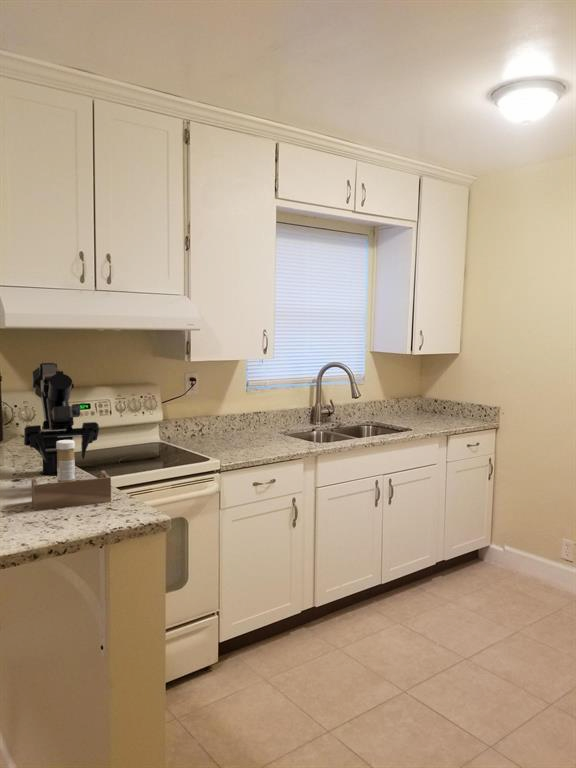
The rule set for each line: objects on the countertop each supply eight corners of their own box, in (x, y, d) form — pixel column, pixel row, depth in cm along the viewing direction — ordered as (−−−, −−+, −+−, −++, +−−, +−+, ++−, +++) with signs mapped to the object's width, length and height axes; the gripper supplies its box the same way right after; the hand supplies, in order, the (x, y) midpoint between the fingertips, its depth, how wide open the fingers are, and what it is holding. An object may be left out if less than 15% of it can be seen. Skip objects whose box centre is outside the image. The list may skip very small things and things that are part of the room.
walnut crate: (31, 501, 148) (31, 477, 147) (104, 493, 156) (104, 470, 155) (34, 510, 141) (34, 485, 140) (111, 501, 149) (110, 477, 148)
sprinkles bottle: (60, 488, 160) (59, 439, 159) (77, 488, 160) (76, 439, 159) (55, 493, 155) (53, 442, 154) (73, 493, 156) (72, 442, 155)
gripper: (23, 395, 155) (27, 445, 147) (97, 393, 164) (105, 439, 155) (22, 421, 163) (26, 469, 154) (92, 417, 172) (100, 462, 163)
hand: (65, 459), depth 157 cm, fingers open, 9 cm apart
